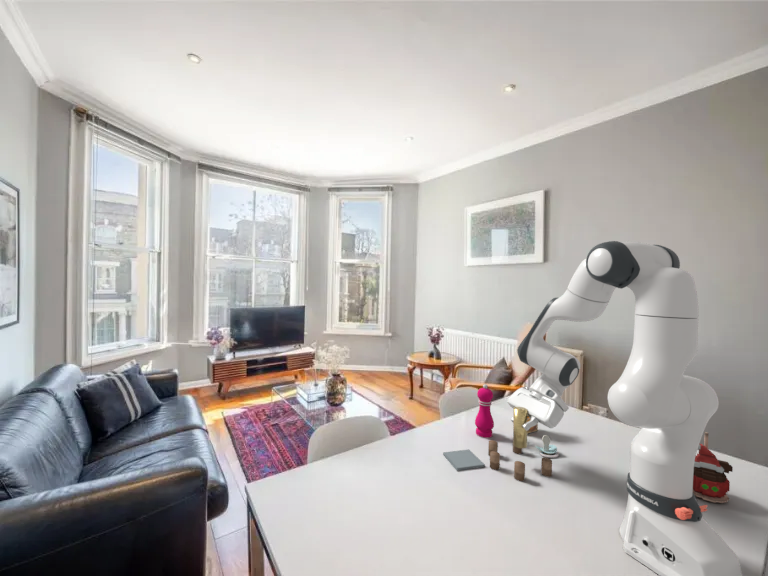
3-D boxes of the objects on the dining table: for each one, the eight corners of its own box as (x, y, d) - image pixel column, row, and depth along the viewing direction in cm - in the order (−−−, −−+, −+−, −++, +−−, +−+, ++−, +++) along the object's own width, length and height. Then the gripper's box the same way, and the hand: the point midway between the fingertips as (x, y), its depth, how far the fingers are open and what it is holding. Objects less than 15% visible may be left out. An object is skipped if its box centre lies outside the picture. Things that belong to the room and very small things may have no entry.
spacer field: (554, 476, 102) (554, 461, 102) (506, 483, 97) (507, 468, 97) (518, 449, 118) (518, 437, 118) (476, 454, 114) (476, 441, 114)
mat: (484, 466, 106) (484, 464, 106) (456, 470, 104) (456, 468, 104) (468, 451, 116) (469, 449, 116) (443, 454, 113) (443, 452, 113)
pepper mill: (470, 432, 132) (472, 382, 131) (484, 429, 135) (486, 380, 134) (483, 439, 125) (484, 387, 125) (497, 436, 128) (499, 385, 128)
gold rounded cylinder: (529, 447, 106) (530, 410, 106) (518, 449, 105) (519, 411, 105) (521, 441, 110) (521, 406, 110) (510, 443, 109) (510, 407, 109)
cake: (724, 492, 96) (726, 431, 95) (736, 511, 88) (739, 444, 88) (676, 480, 101) (678, 422, 101) (683, 496, 93) (685, 433, 93)
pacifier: (562, 458, 113) (551, 449, 119) (563, 440, 113) (552, 432, 119) (543, 459, 112) (533, 450, 118) (544, 442, 112) (533, 433, 118)
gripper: (517, 379, 120) (494, 408, 117) (561, 396, 100) (534, 431, 97) (528, 391, 121) (505, 419, 118) (573, 410, 101) (546, 445, 98)
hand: (518, 425), depth 108 cm, fingers closed on gold rounded cylinder, 4 cm apart
